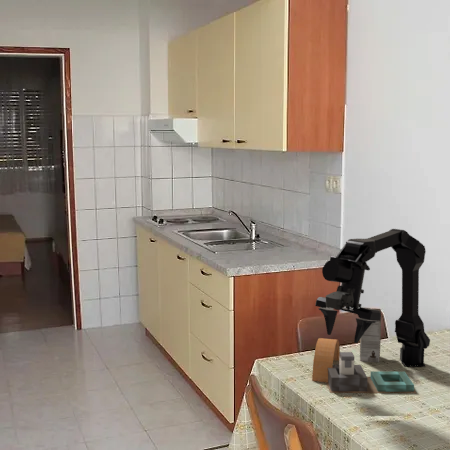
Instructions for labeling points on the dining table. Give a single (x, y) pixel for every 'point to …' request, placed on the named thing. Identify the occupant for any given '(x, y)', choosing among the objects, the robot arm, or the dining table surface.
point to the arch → (324, 358)
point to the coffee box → (371, 343)
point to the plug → (346, 363)
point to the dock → (368, 382)
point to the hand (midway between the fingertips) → (342, 338)
